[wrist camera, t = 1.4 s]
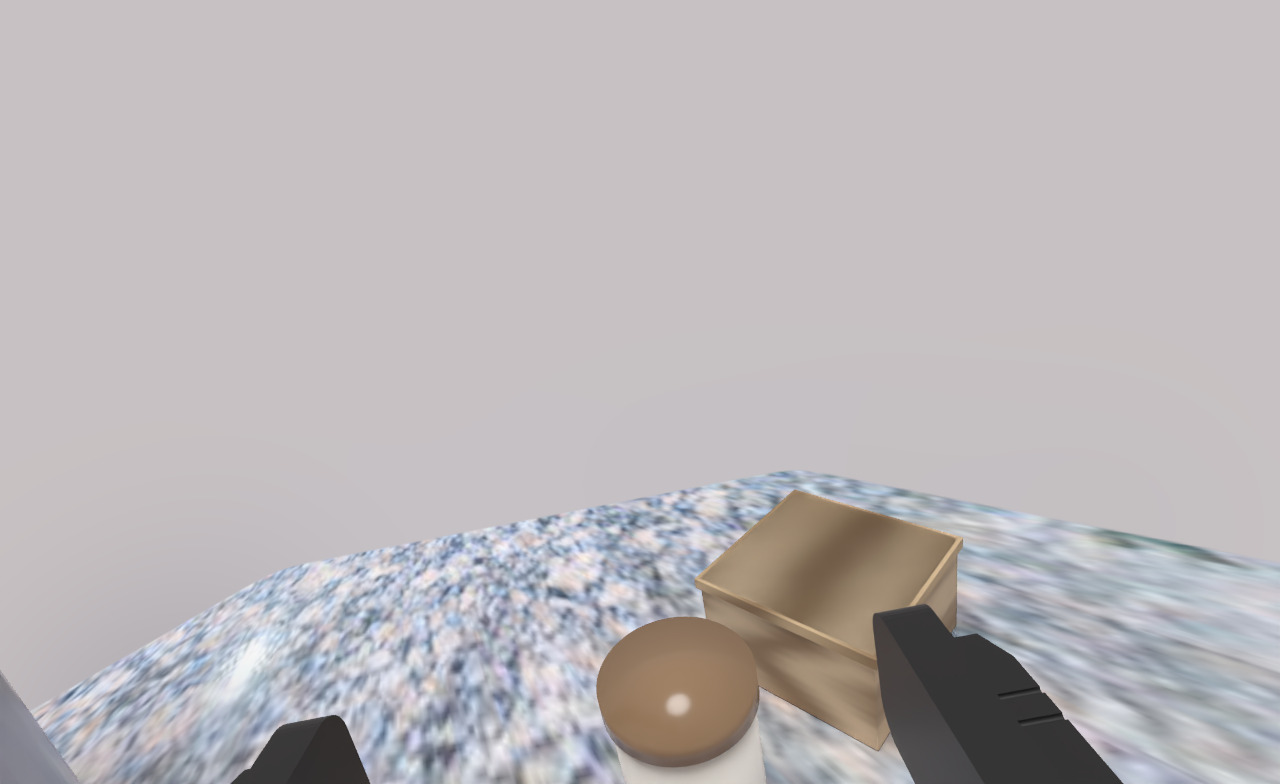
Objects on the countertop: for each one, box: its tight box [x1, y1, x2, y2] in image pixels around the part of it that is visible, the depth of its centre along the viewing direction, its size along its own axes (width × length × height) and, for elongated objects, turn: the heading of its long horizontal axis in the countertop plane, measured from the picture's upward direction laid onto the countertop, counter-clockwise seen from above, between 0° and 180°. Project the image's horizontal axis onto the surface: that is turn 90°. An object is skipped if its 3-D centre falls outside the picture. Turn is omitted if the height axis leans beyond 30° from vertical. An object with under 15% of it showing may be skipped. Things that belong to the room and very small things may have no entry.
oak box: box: [695, 490, 963, 751], centre depth 36 cm, size 10×10×6 cm
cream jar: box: [596, 617, 767, 784], centre depth 25 cm, size 6×6×11 cm
